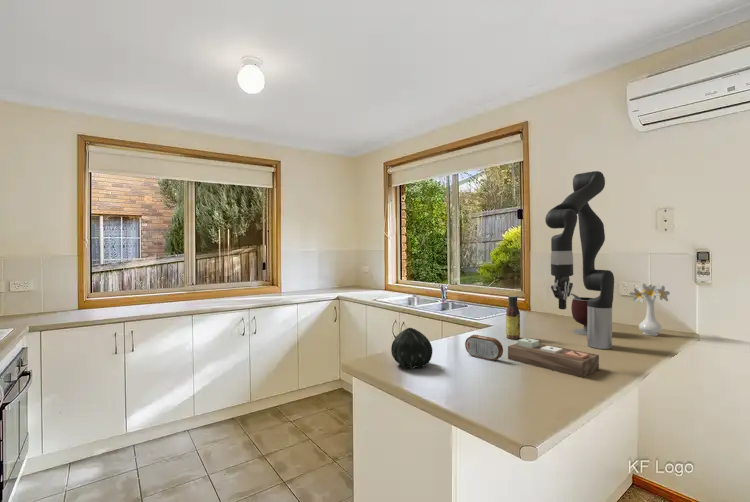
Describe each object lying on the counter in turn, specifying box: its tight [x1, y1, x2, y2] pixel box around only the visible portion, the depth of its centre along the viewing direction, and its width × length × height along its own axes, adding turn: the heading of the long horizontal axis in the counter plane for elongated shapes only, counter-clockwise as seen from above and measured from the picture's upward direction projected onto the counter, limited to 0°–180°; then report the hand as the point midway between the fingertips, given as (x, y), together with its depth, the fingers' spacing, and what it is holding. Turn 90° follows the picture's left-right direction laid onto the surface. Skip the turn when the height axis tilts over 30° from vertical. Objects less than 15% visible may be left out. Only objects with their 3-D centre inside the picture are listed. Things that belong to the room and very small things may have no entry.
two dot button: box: [517, 337, 540, 348], centre depth 147 cm, size 6×6×4 cm
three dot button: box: [565, 351, 589, 359], centre depth 133 cm, size 6×6×4 cm
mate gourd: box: [570, 292, 593, 336], centre depth 190 cm, size 16×14×20 cm
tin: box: [464, 334, 504, 361], centre depth 147 cm, size 15×3×8 cm, turn 47°
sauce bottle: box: [505, 295, 521, 340], centre depth 179 cm, size 7×6×20 cm
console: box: [507, 342, 600, 379], centre depth 140 cm, size 14×27×5 cm, turn 39°
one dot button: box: [540, 345, 563, 354], centre depth 140 cm, size 6×6×4 cm
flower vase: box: [629, 283, 671, 337], centre depth 185 cm, size 13×18×25 cm
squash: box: [390, 327, 434, 369], centre depth 138 cm, size 14×15×15 cm
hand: (562, 309), depth 142 cm, fingers closed
